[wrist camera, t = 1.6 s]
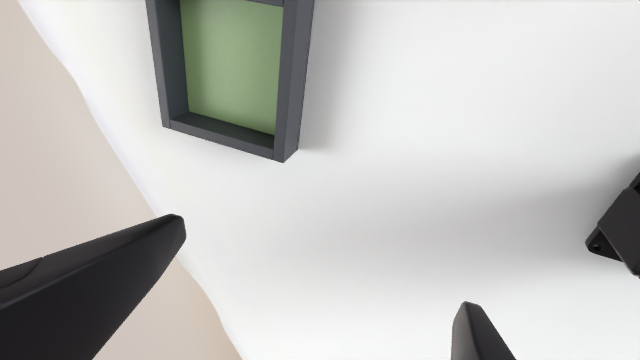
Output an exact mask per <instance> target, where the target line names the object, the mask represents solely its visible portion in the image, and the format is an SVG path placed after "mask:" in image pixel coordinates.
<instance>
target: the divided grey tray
mask: <svg viewBox="0 0 640 360" xmlns="http://www.w3.org/2000/svg"><path fill="white" fill-rule="evenodd" d="M145 1H146V8H147V16H148V23H149V30H150V38H151V45H152V52H153V60H154V67H155V75H156V82H157V89H158V97H159V104H160V111H161V119H162V126H163V127H166V128H170V129H172V130H175V131H179V132H182V133H185V134H189V135H192V136H195V137H199V138H202V139H205V140H208V141H212V142H215V143H218V144H222V145H225V146H228V147H232V148H235V149H238V150H241V151H245V152H248V153H251V154H255V155H258V156H261V157H265V158H268V159H271V160H275V161H278V162H281V163H284V162H285V161H286V160H287V159H288V158H289V157H290V156H291V155H292V154H293V153H294V152H296V151H297V150H298V142H299V133H300V124H301V115H302V106H303V98H304V89H305V80H306V71H307V62H308V53H309V44H310V35H311V27H312V18H313V9H314V0H145Z"/></svg>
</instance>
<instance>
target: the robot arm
mask: <svg viewBox="0 0 640 360" xmlns="http://www.w3.org/2000/svg"><path fill="white" fill-rule="evenodd" d="M185 240H186V230H185V224H184V219H183V218H182V217H181V216H178V215H175V214H168V215H165V216H162V217H159V218H156V219H153V220H150V221H147V222H144V223H141V224H138V225H135V226H132V227H129V228H126V229H124V230H121V231H118V232H115V233H112V234H109V235H106V236H103V237H100V238H97V239H94V240H91V241H88V242H85V243H82V244H79V245H76V246H74V247H70V248H67V249H64V250H62V251H58V252H56V253H52V254H50V255H46V256H44V257H40V258H37V259H34V260H32V261H29V262H26V263H23V264H20V265H16V266H13V267H10V268H7V269H4V270H1V271H0V360H92V359H93V358H94V357H95V355H96V354H97V353H98V352H99V351H100V350H101V348H102V347H103V346H104V345H105V343H106V342H107V341H108V340H109V339H110V337H111V336H112V335H113V334H114V333H115V332H116V330H117V329H118V328H119V327H120V326H121V324H122V323H123V322H124V321H125V320H126V318H127V317H128V316H129V315H130V313H131V312H132V311H133V310H134V309H135V307H136V306H137V305H138V304H139V303H140V302H141V300H142V299H143V298H144V297H145V296H146V294H147V293H148V292H149V291H150V289H151V288H152V287H153V286H154V285H155V283H156V282H157V281H158V280H159V278H160V277H161V275H162V274H163V273H164V271H165V270H166V268H167V267H168V265H169V264H170V262H171V261H172V259H173V258H174V257H175V255H176V254H177V252H178V251H179V249H180V248H181V246H182V245H183V243H184V242H185ZM595 244H600V245H599V246H594V245H595ZM585 245H586V247H587V248H588V250H589V251H590V252H592V253H594V254H598V255H601V256H604V257H608V258H611V259H614V260H618V261H621V262H624V263H625V265H626V266H627V268H628V269H629V270H630V272H631V273H632V274H633V275H635V276H638V277H639V279H640V173H639V174H638V175H637V177H636V178H635V179H634V180H633V182H632V183H631V184H630V185H629V187H628V188H626V189H624V190H623V191H622V192H621V194H620V195H619V196H618V198H617V199H616V200H615V201H614V203H613V204H612V205H611V206H610V208H609V209H608V210H607V212H606V213H605V214H604V215H603V217H602V218H601V219H600V220H599V222H598V226H597V227H596V228H595V230H594V231H593V232H592V234H591V235H590V236H589V237H588V239H587V240H586V242H585ZM451 360H516V359H515V357H514V356H513V354H512V353H511V351H510V350H509V348H508V347H507V345H506V344H505V342H504V341H503V339H502V338H501V336H500V335H499V333H498V331H497V330H496V328H495V327H494V325H493V324H492V322H491V321H490V319H489V318H488V316H487V315H486V313H485V312H484V310H483V309H482V307H481V306H479V305H477V304H474V303H470V302H467V301H465V302H463V303H462V305H461V307H460V309H459V311H458V313H457V315H456V317H455V319H454V322H453V327H452V347H451Z"/></svg>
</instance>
